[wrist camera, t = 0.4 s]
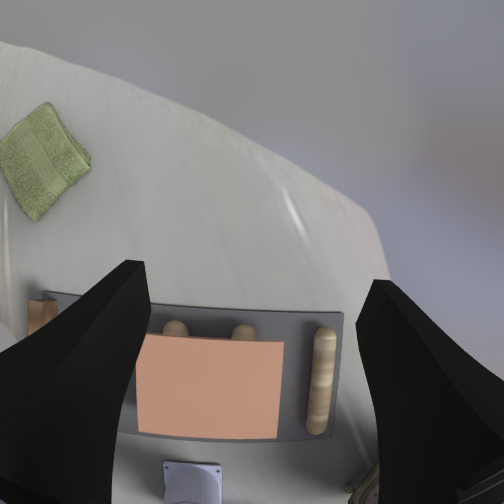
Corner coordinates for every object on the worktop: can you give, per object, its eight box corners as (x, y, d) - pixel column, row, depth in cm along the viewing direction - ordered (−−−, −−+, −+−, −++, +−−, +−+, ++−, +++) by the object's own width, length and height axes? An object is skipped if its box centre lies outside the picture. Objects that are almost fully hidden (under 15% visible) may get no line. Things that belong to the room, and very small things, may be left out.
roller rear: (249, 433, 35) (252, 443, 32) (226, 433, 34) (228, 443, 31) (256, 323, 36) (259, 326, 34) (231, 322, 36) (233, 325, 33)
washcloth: (51, 102, 37) (44, 92, 34) (99, 167, 37) (91, 158, 34) (-3, 156, 35) (-13, 149, 32) (35, 231, 35) (24, 226, 32)
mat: (330, 435, 36) (331, 436, 36) (50, 414, 31) (49, 415, 31) (342, 313, 38) (343, 313, 38) (45, 291, 34) (43, 291, 33)
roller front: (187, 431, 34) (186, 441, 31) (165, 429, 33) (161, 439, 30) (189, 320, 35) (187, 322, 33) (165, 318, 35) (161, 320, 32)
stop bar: (64, 412, 32) (49, 424, 27) (52, 409, 31) (36, 420, 27) (59, 301, 34) (40, 302, 29) (47, 299, 34) (28, 299, 29)
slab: (274, 432, 32) (276, 438, 31) (141, 426, 30) (138, 431, 29) (280, 340, 34) (284, 342, 32) (139, 331, 32) (136, 333, 30)
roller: (321, 428, 36) (328, 436, 33) (302, 430, 35) (308, 439, 33) (332, 325, 38) (340, 327, 35) (311, 325, 37) (319, 327, 35)
